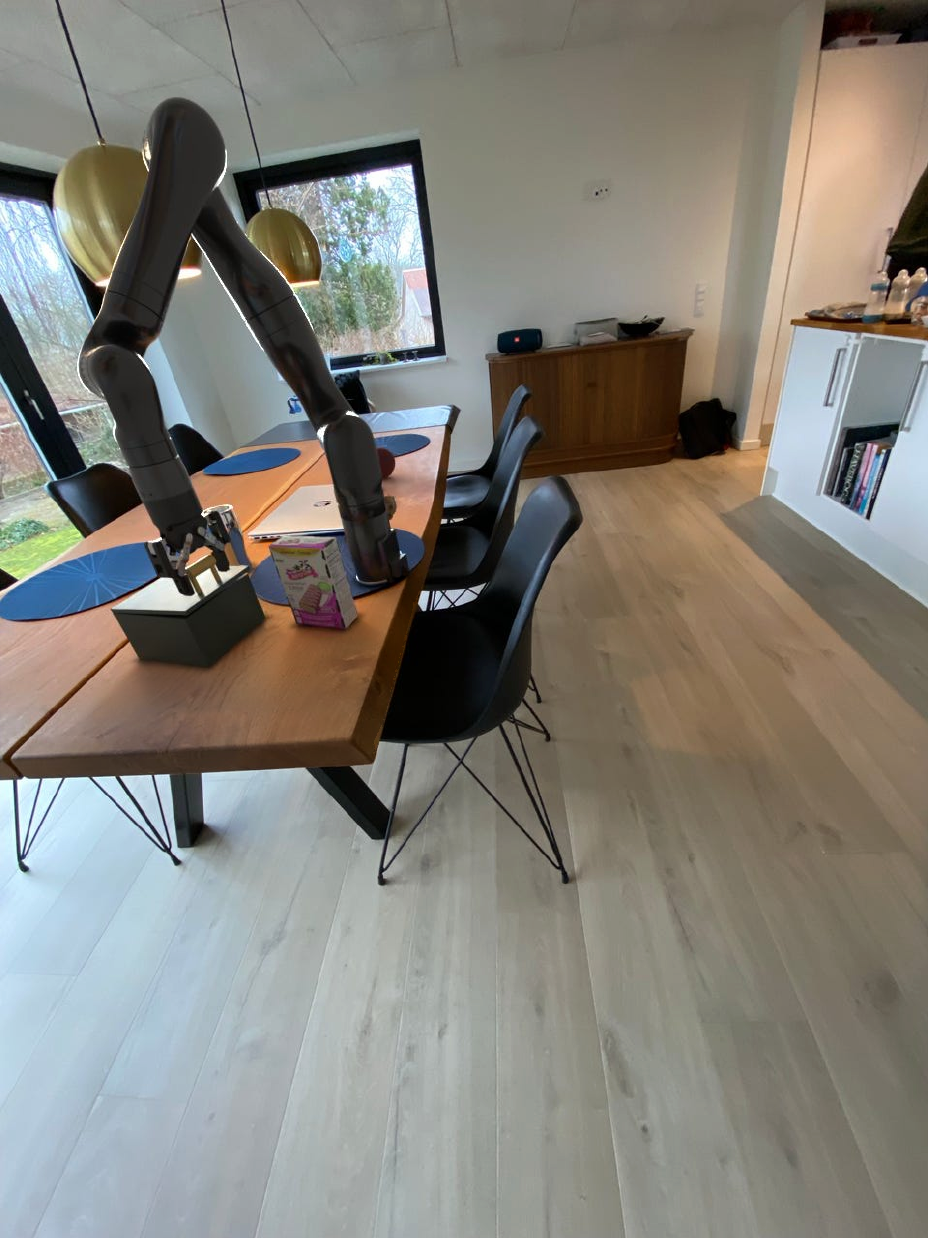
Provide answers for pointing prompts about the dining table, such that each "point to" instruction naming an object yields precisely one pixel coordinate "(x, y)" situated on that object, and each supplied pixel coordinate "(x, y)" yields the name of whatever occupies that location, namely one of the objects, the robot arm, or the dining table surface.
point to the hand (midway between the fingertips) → (207, 582)
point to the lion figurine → (390, 506)
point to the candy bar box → (314, 580)
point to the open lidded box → (196, 628)
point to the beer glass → (233, 537)
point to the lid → (167, 597)
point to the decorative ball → (386, 461)
